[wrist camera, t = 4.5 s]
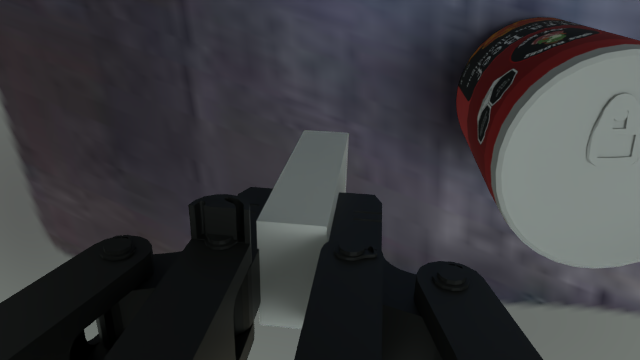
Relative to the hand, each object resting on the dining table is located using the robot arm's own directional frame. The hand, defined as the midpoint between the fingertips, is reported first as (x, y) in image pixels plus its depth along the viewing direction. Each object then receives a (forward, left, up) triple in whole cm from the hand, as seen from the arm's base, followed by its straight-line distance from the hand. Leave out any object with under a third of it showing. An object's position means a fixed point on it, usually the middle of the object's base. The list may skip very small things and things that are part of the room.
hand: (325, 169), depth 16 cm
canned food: (+10, 0, -12) cm, 15 cm away
